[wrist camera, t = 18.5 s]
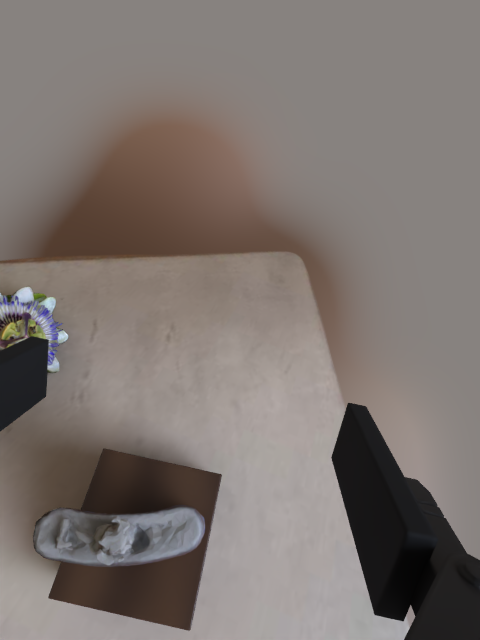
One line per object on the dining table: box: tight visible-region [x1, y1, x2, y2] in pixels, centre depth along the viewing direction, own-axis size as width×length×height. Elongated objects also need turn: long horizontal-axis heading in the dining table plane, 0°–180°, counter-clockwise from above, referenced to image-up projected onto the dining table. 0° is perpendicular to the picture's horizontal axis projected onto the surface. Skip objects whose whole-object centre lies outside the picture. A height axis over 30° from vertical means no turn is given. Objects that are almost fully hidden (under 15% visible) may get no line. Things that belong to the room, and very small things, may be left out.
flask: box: [33, 505, 205, 567], centre depth 22 cm, size 9×3×11 cm, turn 91°
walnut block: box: [48, 449, 222, 631], centre depth 29 cm, size 10×10×6 cm
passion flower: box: [0, 287, 68, 373], centre depth 36 cm, size 11×11×12 cm
